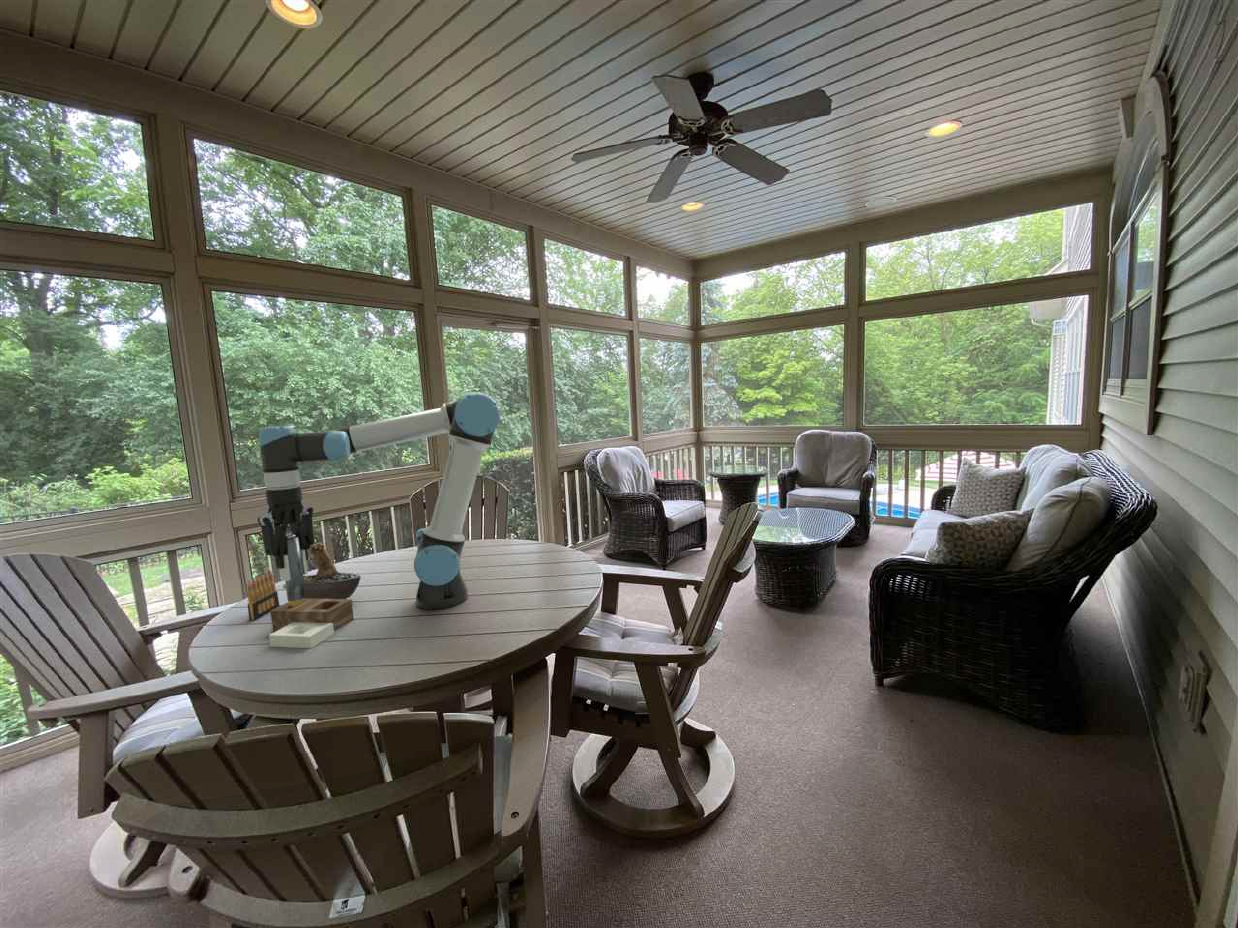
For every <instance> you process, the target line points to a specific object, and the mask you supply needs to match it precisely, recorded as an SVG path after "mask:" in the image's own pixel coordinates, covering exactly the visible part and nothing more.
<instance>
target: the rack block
mask: <svg viewBox="0 0 1238 928" xmlns="http://www.w3.org/2000/svg"><path fill="white" fill-rule="evenodd" d="M333 635H335V631H334V628H333V623H312V622H293V623H291V624H289V625H287V626H285V627H283V628H282V629H280V630H278V631H276V632H272V633H270V634H269V635H268V638H269V644H270V645H269V646H270V647H277V648H278V647H279V648H296V649H297V648H299V649H300V648H301V649H302V648H303V649H312V648H314V647H316V646H317V645H318V644H320V643H322V642H323V641H325V640H327V639H328V638H330V637H331V636H333Z"/></svg>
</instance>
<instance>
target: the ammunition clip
mask: <svg viewBox="0 0 1238 928" xmlns="http://www.w3.org/2000/svg"><path fill="white" fill-rule="evenodd" d="M247 601H248V603H247V613H248V621H249V622H250V621H251V622H254V621H257V620H259V619H261V618H262V617H264V616H265V615H268V614H269V613H270V611H271V610H273V609H275V608H277V607H279V606H280V601H279V594H278V590H277V589H276V583H275V580H274V574H273V572H272V571H271V570H270V569H268V573H267V572H265V573H264V575H263V573H261V574H260V577H259V575H257V576H256V579H255V577H253V578H252V581H251V580H248V581H247Z"/></svg>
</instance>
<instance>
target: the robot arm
mask: <svg viewBox="0 0 1238 928" xmlns="http://www.w3.org/2000/svg"><path fill="white" fill-rule="evenodd" d="M500 419H501V412H500V407H499V405H498V403H497V402H496V400H495V399H494V398H493V397H491V396H490V395H489V394H485V393H484V392H479V391H474V392H468V393H467V394H465V395H463V396H461V397H460V398H459V399H456V400H454V401H450V402H445V403H443V404H442V406H440V407H438V408H433V409H428V410H424V411H419V412H414V413H410V414H405V415H400V416H395V417H390V418H385V419H381V420H376V421H375V420H374V421H371V422H365V423H361V424H356V425H351V426H347V427H341V428H338V429H336V428H335V429H331V430H327V431H326V430H325V431H321V432H320V431H319V432H318V431H317V432H306V433H305V432H303V433H302V432H296V431H295V428H294V427H293V426H292V425H289V426H288V425H287V426H286V425H285V426H267V427H262V428H260V430H259V431H258V435H259V437H258V440H259V446H258V447H259V451H260V457H261V463H262V470H263V471H262V472H263V473H262V474H263V478H264V486H265V487H264V488H266V489H267V490H266V491H265V497H266V503H267V505H268V510H267V514H266V515H264V516H262V517H260V516H259V517H258V518H257V522H258V524H259V526H260V528H261V534H262V541H263V546H264V551H265V555H266V556H274V560H275V561H274V562H275V567H276V569H279V572H278V573H279V579H280V581H284V582H285V581H289V580H291V576H290V568H289V560H288V555H284V553H285V539H286V534H287V529H288V526H290V530H291V533H292V534H296V536H298V537H299V544H300V553H301V561H302V569H303V576H307V575H308V565H307V561H308V560H309V553H308V550H309V549H310V548H311V546H312V545H313V544H315V540H314V539H315V538H314V526H313V513H314V508H313V507H310V506H308V507H306V506H304V505H303V504H302V500H303V493H302V487H301V486H300V485H301V484H302V483H301V477H300V475H301V474H300V468H299V464H300V463H303V464H304V463H315V462H316V463H317V462H337V461H342V460H343V461H344V460H348V459H349V457H350V455H352V454H356V453H360V452H364V451H369V450H374V449H379V448H383V447H387V446H392V445H397V444H401V443H405V442H411V441H416V440H419V439H424V438H429V437H434V436H438V435H442V434H448V437H449V439H450V440H451V441H452V443H451V446H450V451H449V453H448V458H447V460H446V461H447V462H446V465H445V469H444V472H443V477H442V480H441V483H440V488H439V491H438V496H437V498H436V499H437V500H436V503H435V506H434V510H433V514H432V517H431V521H430V525H429V526H427V527H424V528H423V527H422V528H420V529H418V530H417V531H416V532H415V540H416V555H415V557H414V560H413V569H414V573H415V575H416V577H417V578H418V579H419V583H418V587H417V591H416V594H415V595H416V596H415V602H416V606H417V607H418V608H420V609H424V610H438V609H440V610H441V609H446V608H449V607H454V606H457V605H458V604H459V605H460V604H461V603H463V602H464V601H466V600H467V599H468V597H469V590H468V587H467V585H466V582H465V580H464V578H463V576H462V574H461V557H462V552H463V549H464V545H465V541H466V537H465V535H464V534H463V529H464V528H463V527H464V524H465V520H466V517H467V513H468V510H469V509H468V508H469V506H470V501H471V498H472V494H473V491H474V487H475V482H476V480H477V476H478V473H479V468H480V465H481V461H482V457H483V454H484V451H485V450H486V449H488V448H489V447H491V446H492V441H493V439H494V434H495V431H496V428H497V427H498V425H499V423H500Z"/></svg>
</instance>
